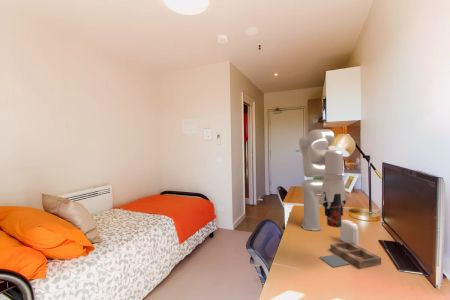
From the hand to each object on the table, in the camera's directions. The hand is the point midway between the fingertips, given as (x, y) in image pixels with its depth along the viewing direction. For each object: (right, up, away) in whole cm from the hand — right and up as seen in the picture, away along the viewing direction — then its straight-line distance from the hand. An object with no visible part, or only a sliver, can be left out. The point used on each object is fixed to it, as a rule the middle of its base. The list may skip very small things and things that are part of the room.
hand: (333, 215), depth 103 cm
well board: (+12, -21, +4) cm, 25 cm away
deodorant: (0, -5, 0) cm, 5 cm away
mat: (0, -22, +1) cm, 22 cm away
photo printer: (+18, -21, +19) cm, 33 cm away
